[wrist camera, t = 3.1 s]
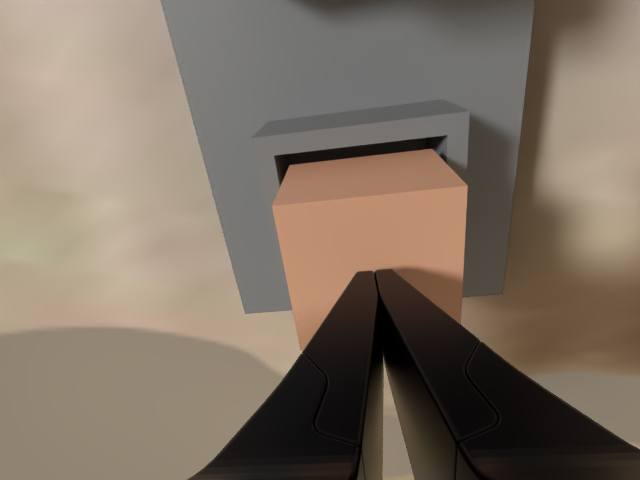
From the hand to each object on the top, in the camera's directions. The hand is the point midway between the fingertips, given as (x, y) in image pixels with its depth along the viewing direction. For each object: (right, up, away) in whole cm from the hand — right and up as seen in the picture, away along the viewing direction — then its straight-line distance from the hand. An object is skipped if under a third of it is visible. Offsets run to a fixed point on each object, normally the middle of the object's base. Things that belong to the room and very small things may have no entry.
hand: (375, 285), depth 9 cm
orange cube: (0, +2, +4) cm, 4 cm away
